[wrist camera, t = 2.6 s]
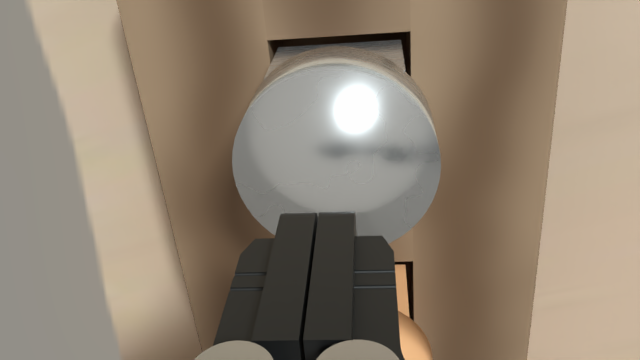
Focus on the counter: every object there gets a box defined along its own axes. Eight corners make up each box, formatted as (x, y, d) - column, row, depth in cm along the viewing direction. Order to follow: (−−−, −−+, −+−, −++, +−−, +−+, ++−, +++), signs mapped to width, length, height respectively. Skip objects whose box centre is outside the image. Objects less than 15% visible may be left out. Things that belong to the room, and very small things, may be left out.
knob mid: (425, 247, 23) (438, 340, 19) (425, 353, 26) (436, 456, 21) (282, 250, 24) (262, 342, 19) (297, 354, 26) (282, 454, 22)
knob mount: (544, -86, 20) (575, -74, 17) (496, 454, 34) (509, 516, 30) (145, -53, 22) (107, -36, 19) (252, 451, 35) (241, 510, 32)
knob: (426, 13, 19) (442, 62, 14) (426, 169, 21) (439, 252, 17) (251, 24, 19) (216, 76, 15) (272, 175, 22) (247, 257, 18)
